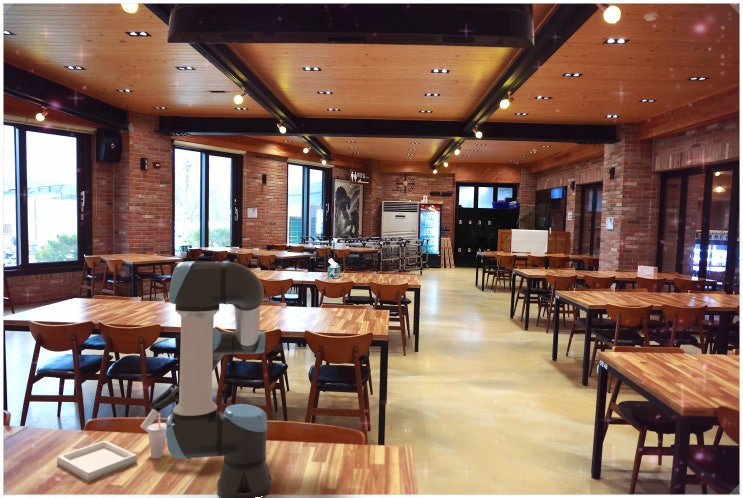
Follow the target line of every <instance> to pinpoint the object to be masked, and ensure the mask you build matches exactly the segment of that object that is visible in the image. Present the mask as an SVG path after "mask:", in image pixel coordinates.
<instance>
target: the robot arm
mask: <svg viewBox="0 0 743 498" xmlns="http://www.w3.org/2000/svg"><path fill="white" fill-rule="evenodd" d="M169 285H170V286H169V292H168V295H169V298H168V301H169V304H171V305H175V309H174V310H175V312H176V313H177V314H178V315H179V316H180V355H179V385H177V386H176V385H175V384H174V383H171V385H170V386H169V387H168V389H165V391H164V392H163V393H161V394H160V395H159V396H158V397H156V399H154V400H153V401H152V402H150V404H149V405H150V407H151V409H150V411H149V412H148V414H147V415H146V417H145V419H144V420H143V422H142V423H141V424H140V425H139V427H140V428H141V429H143V430H144V431H146V432H147V427H148V426H149V425H151V424H154V422H155V420H156V419H157V418H158V417H159V413H160V411H162V410H163V409H165V408H167V407H168V406H170V405H172V404H173V403H176V402H177V403H178V404H176V405H175V406H174V407H173V409H172V413H171V414H169V415H168V416H167V419H166V422H165V423H166V428H167V429H166V446H167V450H168V453H169V454H170V456H171V457H172V458H174V459H186V460H187V459H188V460H189V459H190V460H191V459H195V458H197V459H198V458H199V459H200V458H212V457H223V465H222V469H221V472H220V475H219V478H218V480H217V484H216V494H217V496H218V497H219V496H220V497H221V498H255V497H261V496H264V497H266V496H267V495H268V494H269V493H270V492H271V490H272V485H273V484H272V482H273V480H272V476H271V474H270V473H271V472H270V470H269V466H268V462H267V431H268V425H267V424H268V422H267V421H268V420H267V414H266V412H265V411H264V409H262V408H260V407H258V406H256V405H252V404H247V403H246V404H245V403H237V404H230V405H228V406H227V407H226V408H225V410H224V412H221V411H220V412H219V411H218V405H217V404H216V403H215V402H214V401H213V400H212V399H213V372H214V370H215V369H216V367H217V366H218V365H219V364H220V362H221V361H222V359H223V357H224V356H225V355H241V354H243V355H250V354H252V355H255V354H263V353H264V352H265V350H266V349H265V348H266V333H265V331H260V329H261V327H260V326H261V325H260V324H261V316H260V315H261V305H262V303H263V302H264V299H265V297H264V294H265V292H264V287H263V284H262V281H261V280H260V279H259V278H258V276H257V275H256V273H254V272H253V271H252V270H251V269H250V268H249V267H247V266H245V265H243V264H240V263H237V262H232V261H227V262H226V261H225V262H224V261H195V260H192V261H181V262H178V264H176V266H175V267H174V269H173V272H172V276H171V280H170V283H169ZM224 304H226V305H227V304H232V305H233V307H234V317H235V319H234V320H235V331H219V329H216V328H214V320H215V319H214V317H215V315H216V314H217V313H218V312H219V311H220V305H224ZM265 495H266V496H265ZM220 497H219V498H220Z"/></svg>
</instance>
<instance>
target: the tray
mask: <svg viewBox="0 0 743 498" xmlns="http://www.w3.org/2000/svg"><path fill="white" fill-rule="evenodd" d="M137 460H138V455H137V454H136V453H134V452H132V451H129V450H127V449H125V448H123V447H121V446H119V445H116V444H115V443H112V442H110V441H107V440H102V441H99V442H95V443H93V444H90V445H87V446H84V447H81V448H78V449H75V450H72V451H69V452H66V453H63V454H60V455H57V457H56V465H58V466H60V467H62V468H64V469H65V470H67V471H69V472H70V473H72V474H74V475H76V476H78V477H80V478H82V479H83V480H85V481H87V482H91V481H93V480H95V479H98V478H101V477H103V476H106V475H109V474H110V473H113V472H116V471H118V470H120V469H123V468H126V467H129V466H131V465H134V464H136V463H137V462H138V461H137Z"/></svg>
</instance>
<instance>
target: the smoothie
mask: <svg viewBox="0 0 743 498" xmlns="http://www.w3.org/2000/svg"><path fill="white" fill-rule="evenodd" d="M166 423H167V422H161V412H159V414H158V422H157V423H152V424H151V425H149V426H148V427H147V431H146V432H147V433H148V443H149V451H150V458H151V459H160V458H162V457H164V454H165V447H166V442H167V439H166V429H167V428H166Z"/></svg>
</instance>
